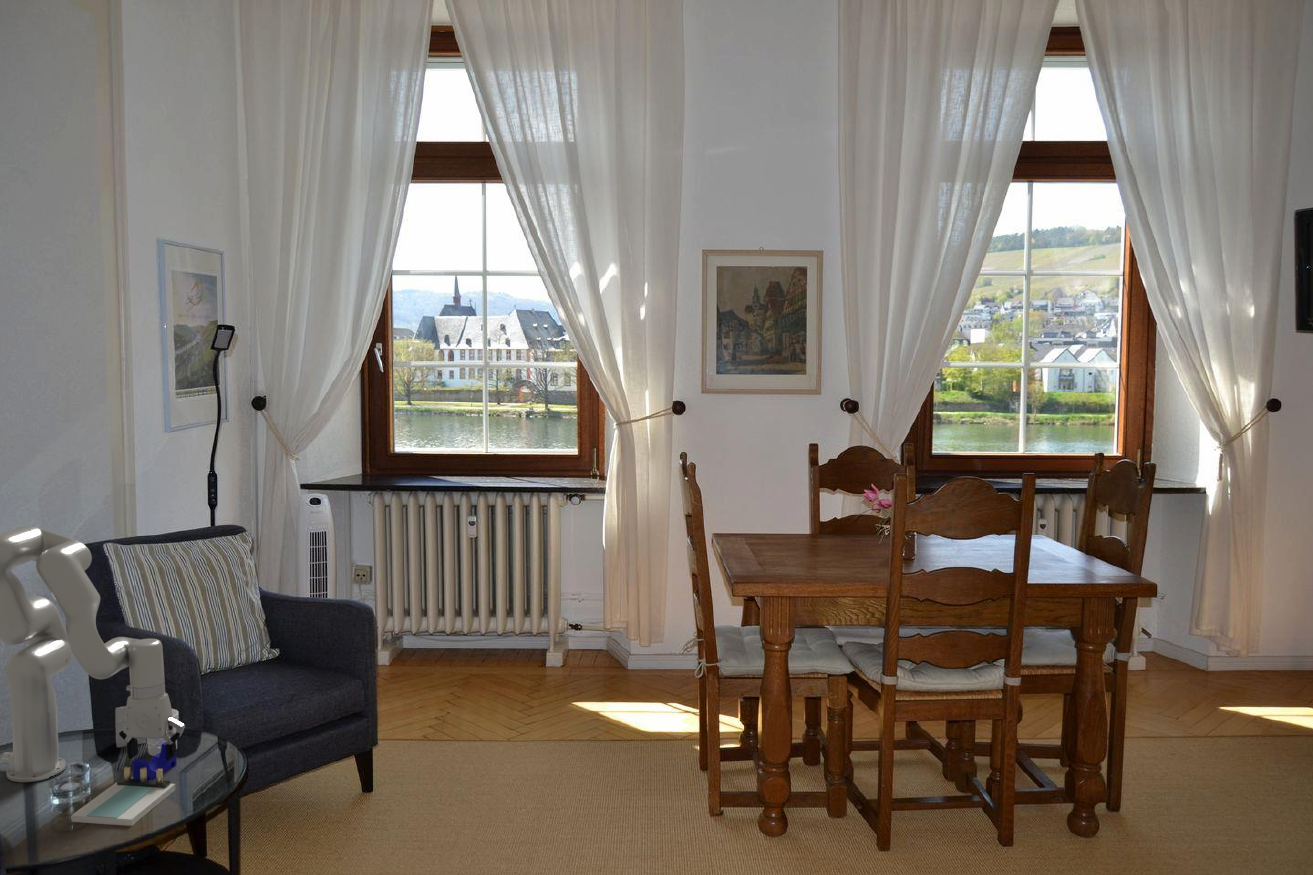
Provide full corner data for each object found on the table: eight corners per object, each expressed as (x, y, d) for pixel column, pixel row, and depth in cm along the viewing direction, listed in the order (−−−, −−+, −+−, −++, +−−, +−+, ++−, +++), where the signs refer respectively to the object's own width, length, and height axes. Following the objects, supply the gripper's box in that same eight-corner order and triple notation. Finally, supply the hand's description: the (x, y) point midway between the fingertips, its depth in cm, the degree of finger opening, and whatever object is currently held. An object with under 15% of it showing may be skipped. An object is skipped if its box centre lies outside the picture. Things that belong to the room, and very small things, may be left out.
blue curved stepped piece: (160, 763, 262) (160, 741, 262) (176, 765, 261) (176, 742, 261) (128, 784, 251) (127, 760, 250) (144, 786, 250) (144, 762, 249)
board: (71, 821, 231) (71, 814, 231) (119, 786, 249) (119, 779, 249) (131, 825, 230) (131, 818, 230) (175, 789, 248) (175, 782, 248)
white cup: (162, 759, 264) (162, 721, 263) (138, 754, 267) (137, 717, 266) (186, 747, 272) (185, 711, 271) (162, 743, 274) (161, 706, 273)
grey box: (145, 742, 274) (144, 706, 273) (116, 747, 271) (115, 710, 270) (144, 737, 277) (143, 701, 276) (116, 742, 274) (115, 705, 273)
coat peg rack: (117, 784, 246) (116, 768, 246) (122, 781, 248) (121, 765, 248) (165, 788, 245) (165, 771, 245) (170, 784, 247) (169, 768, 247)
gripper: (105, 694, 251) (109, 762, 253) (173, 696, 249) (177, 764, 251) (123, 684, 258) (127, 750, 260) (190, 685, 257) (193, 751, 259)
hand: (152, 757), depth 256 cm, fingers open, 9 cm apart
